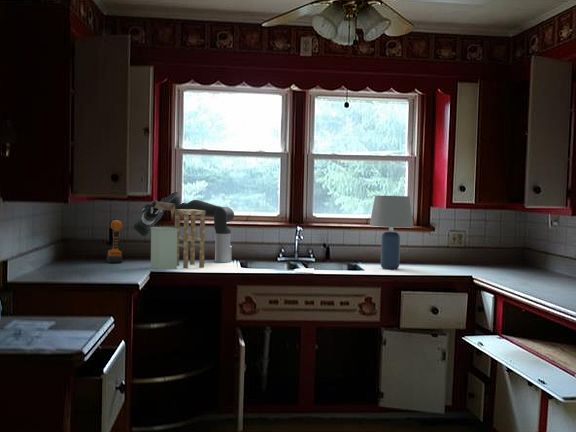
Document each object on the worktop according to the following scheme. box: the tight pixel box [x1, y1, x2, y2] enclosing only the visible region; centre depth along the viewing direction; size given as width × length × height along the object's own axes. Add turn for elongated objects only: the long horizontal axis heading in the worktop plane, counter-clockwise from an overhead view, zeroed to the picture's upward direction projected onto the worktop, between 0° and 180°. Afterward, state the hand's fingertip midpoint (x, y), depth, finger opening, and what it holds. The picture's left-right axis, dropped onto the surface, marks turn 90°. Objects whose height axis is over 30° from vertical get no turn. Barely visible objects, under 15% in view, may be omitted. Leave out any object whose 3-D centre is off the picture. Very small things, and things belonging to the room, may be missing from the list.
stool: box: [174, 209, 206, 269], centre depth 329 cm, size 12×16×32 cm
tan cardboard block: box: [153, 201, 175, 211], centre depth 322 cm, size 4×28×4 cm, turn 32°
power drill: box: [106, 218, 123, 264], centre depth 342 cm, size 22×7×25 cm, turn 25°
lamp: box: [369, 195, 414, 271], centre depth 341 cm, size 25×25×43 cm
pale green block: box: [150, 226, 178, 270], centre depth 321 cm, size 11×15×22 cm
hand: (158, 202), depth 329 cm, fingers closed on tan cardboard block, 3 cm apart
